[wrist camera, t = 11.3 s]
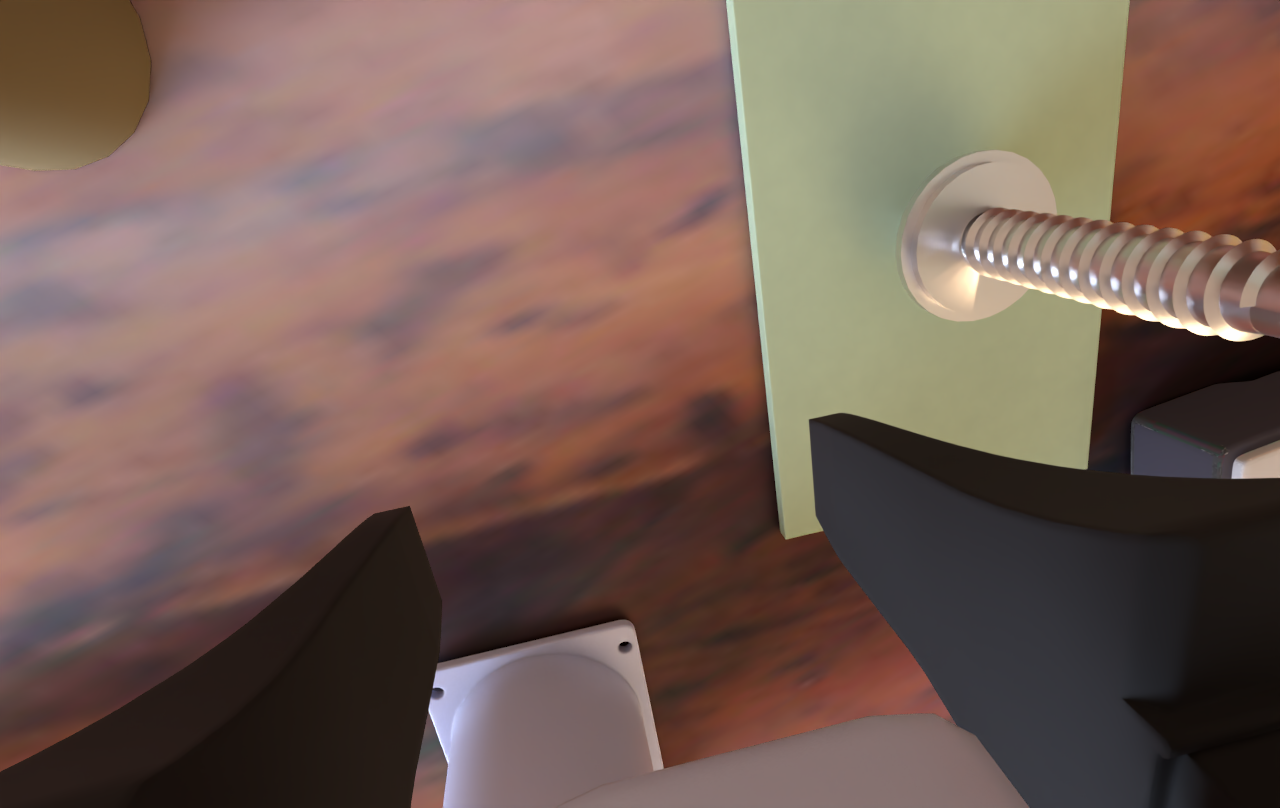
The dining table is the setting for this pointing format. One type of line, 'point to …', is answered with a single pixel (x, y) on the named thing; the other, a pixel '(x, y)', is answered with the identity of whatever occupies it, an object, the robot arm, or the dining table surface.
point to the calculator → (1212, 433)
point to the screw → (1072, 256)
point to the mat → (878, 195)
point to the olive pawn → (69, 81)
